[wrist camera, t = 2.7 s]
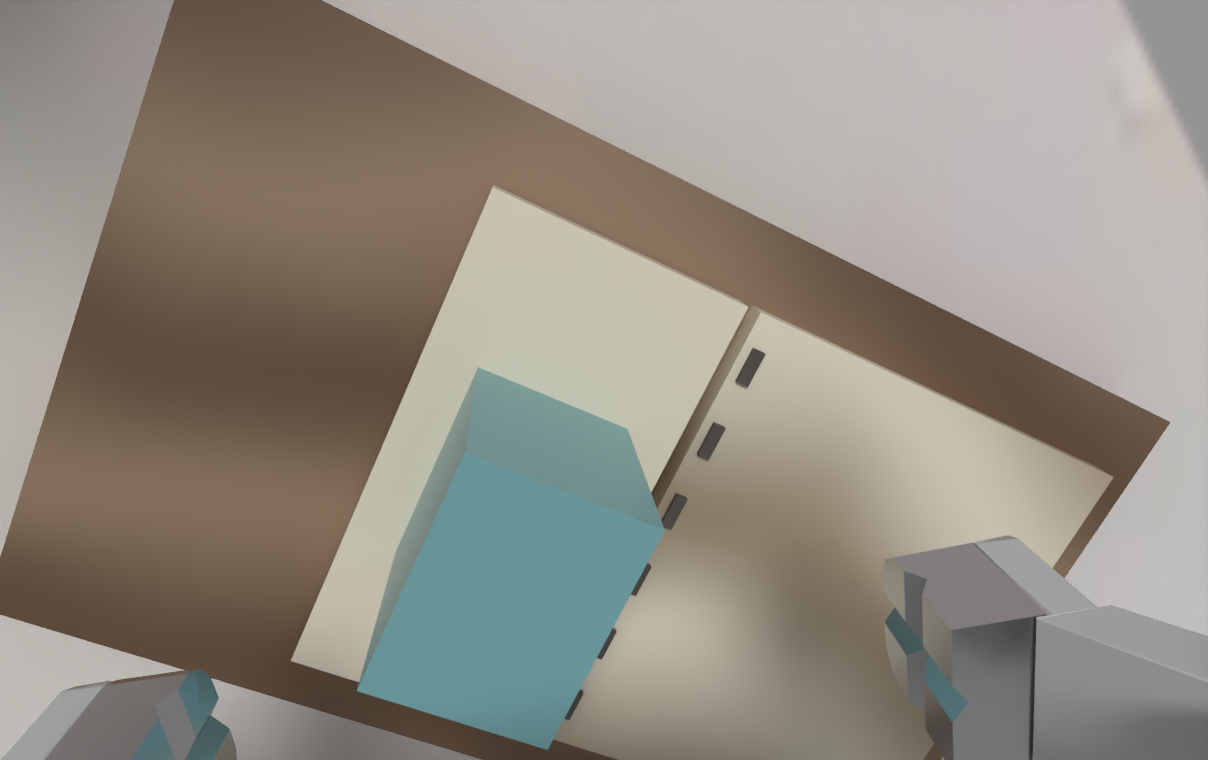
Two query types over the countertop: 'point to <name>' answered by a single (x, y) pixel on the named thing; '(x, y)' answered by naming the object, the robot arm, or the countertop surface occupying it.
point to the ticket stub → (519, 476)
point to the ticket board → (390, 355)
